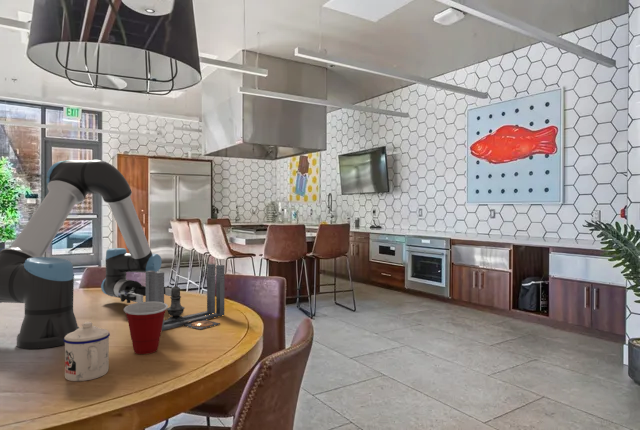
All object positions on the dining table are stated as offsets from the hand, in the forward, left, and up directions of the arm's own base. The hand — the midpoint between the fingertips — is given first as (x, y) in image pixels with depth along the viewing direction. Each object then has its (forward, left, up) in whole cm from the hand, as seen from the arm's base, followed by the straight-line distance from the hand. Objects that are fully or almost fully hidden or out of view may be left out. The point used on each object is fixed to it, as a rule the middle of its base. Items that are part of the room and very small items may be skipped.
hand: (160, 296), depth 151 cm
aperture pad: (-10, -22, -6) cm, 25 cm away
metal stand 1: (-6, -12, -6) cm, 15 cm away
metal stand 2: (-8, -17, -6) cm, 20 cm away
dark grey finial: (-4, -9, -7) cm, 12 cm away
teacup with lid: (-55, -18, -7) cm, 58 cm away
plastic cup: (-37, -20, -7) cm, 43 cm away
